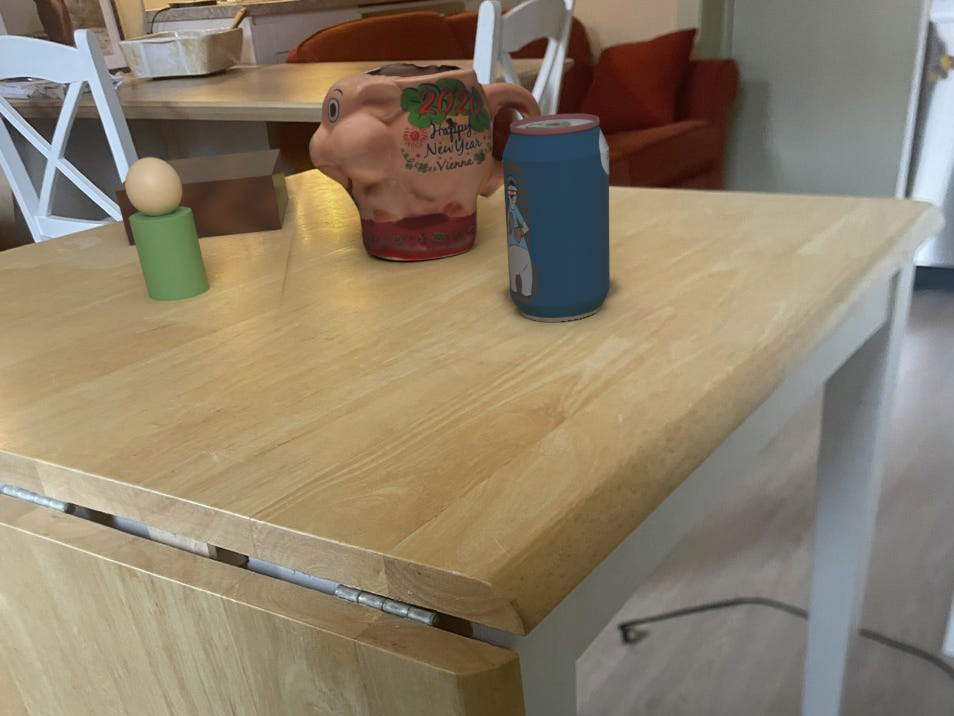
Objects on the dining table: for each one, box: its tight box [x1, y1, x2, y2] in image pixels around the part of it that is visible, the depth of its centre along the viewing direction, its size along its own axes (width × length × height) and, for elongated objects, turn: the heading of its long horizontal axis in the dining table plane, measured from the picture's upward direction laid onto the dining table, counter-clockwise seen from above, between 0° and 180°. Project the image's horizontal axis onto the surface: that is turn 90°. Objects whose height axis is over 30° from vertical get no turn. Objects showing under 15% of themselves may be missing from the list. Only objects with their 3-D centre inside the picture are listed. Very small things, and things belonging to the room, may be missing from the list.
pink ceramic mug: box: [308, 61, 542, 261], centre depth 85 cm, size 20×12×14 cm, turn 113°
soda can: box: [502, 113, 611, 323], centre depth 68 cm, size 7×7×12 cm
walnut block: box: [114, 148, 289, 247], centre depth 98 cm, size 14×14×6 cm
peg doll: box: [124, 156, 210, 302], centre depth 76 cm, size 5×5×11 cm
